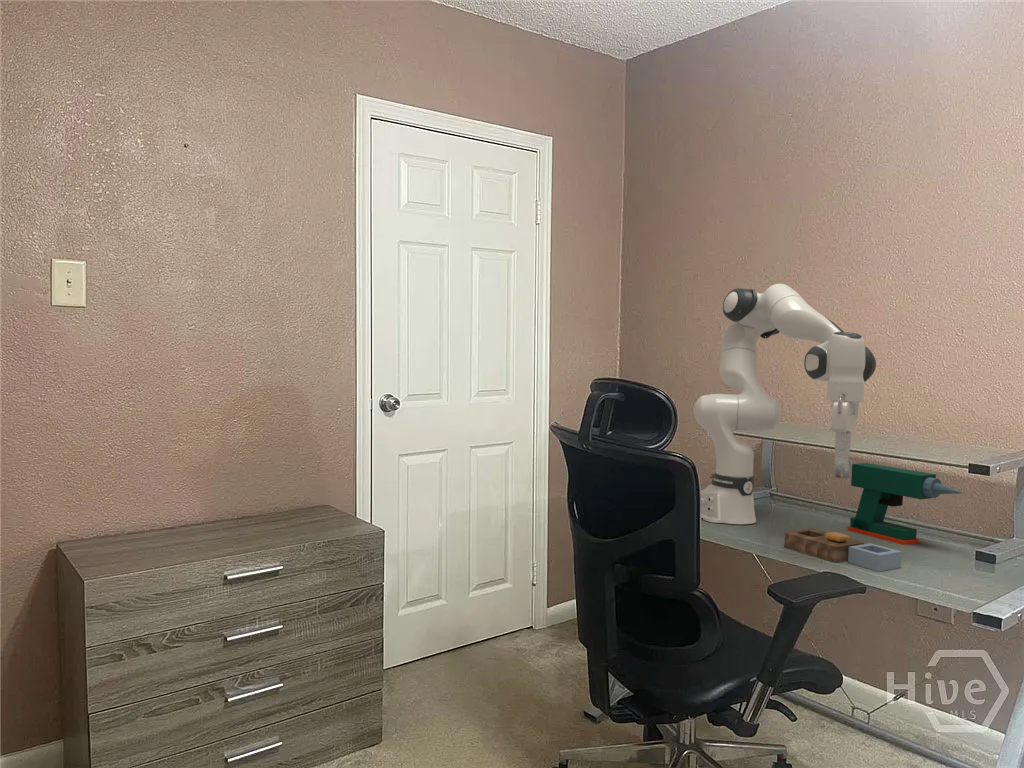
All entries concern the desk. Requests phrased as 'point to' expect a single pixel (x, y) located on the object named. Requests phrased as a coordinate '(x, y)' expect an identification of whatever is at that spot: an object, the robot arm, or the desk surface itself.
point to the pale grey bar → (842, 458)
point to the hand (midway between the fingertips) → (842, 447)
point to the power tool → (890, 499)
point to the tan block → (837, 537)
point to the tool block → (819, 545)
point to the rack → (874, 557)
